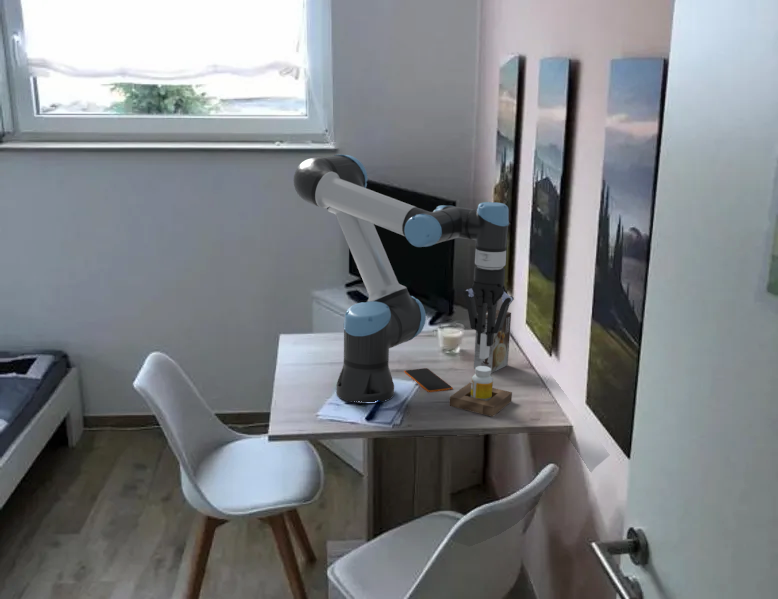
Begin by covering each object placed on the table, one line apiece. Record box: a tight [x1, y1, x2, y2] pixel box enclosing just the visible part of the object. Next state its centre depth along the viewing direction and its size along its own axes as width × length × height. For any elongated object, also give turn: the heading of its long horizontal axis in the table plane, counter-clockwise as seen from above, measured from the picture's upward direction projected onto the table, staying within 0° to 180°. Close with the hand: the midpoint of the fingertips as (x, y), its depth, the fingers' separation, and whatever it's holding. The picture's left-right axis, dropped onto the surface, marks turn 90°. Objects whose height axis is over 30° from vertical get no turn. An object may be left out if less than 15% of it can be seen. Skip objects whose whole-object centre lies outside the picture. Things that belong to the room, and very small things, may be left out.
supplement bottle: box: [470, 366, 494, 401], centre depth 215 cm, size 5×5×10 cm
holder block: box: [448, 382, 513, 417], centre depth 216 cm, size 12×12×2 cm
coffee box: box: [473, 309, 512, 374], centre depth 241 cm, size 9×6×16 cm
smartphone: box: [403, 367, 454, 393], centre depth 232 cm, size 8×17×1 cm, turn 23°
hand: (484, 357), depth 213 cm, fingers closed
